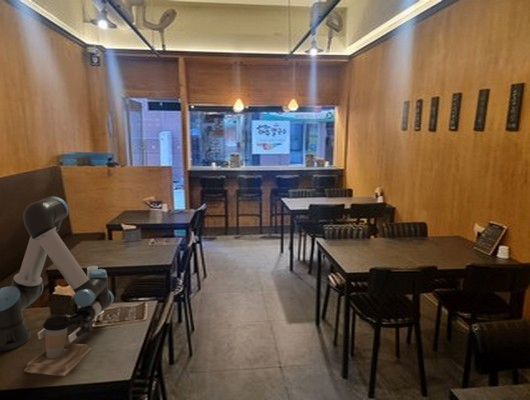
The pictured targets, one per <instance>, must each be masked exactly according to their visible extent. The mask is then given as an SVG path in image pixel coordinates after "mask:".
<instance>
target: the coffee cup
mask: <svg viewBox="0 0 530 400" xmlns="http://www.w3.org/2000/svg"><path fill="white" fill-rule="evenodd" d="M70 326H71V325H70V319H69V320H68V318H67V317H64V316H63V315H53V316H51V317H48V318H47V319H46V320H45V321H44V323H43V326H42V329H43V328H44V329H45V336H44V343H45V344H44V345H45V349H46V357H47V358H49V359H56V358H59V357H61V356H62V354H63V350H64V345H65V343H67V342H66V341H67V337H68V329H69V327H70Z"/></svg>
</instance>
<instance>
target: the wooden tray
mask: <svg viewBox="0 0 530 400" xmlns="http://www.w3.org/2000/svg"><path fill="white" fill-rule="evenodd" d="M92 350H93V349H92V347H89V344H83V343H73V342H65V345H64V350H63V354H62V356H61V357H59V358H56V359H49V358H47V357H46V348H45V349H44V350H43V351H42V352H40V353H38V355H36V356H35V357H34V358H33V359H31V360H30V361H29V362H28V363H26V366H27V367H25V369H23V371H24V373H31V374H39V375H50V376H57V377H65V376H66V375H68V374H69V372H71V371H72V370H73V369H74V368H75V367H76V366H77V365H78V364H79V363H80V362H81V361H83V359H84V358H85V357H86V356H88V354H90V352H92Z"/></svg>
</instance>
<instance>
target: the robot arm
mask: <svg viewBox="0 0 530 400" xmlns="http://www.w3.org/2000/svg"><path fill="white" fill-rule="evenodd" d="M68 215H69V206H68V204H67V201H65V200H64V199H63V198H60V197H58V196H48V197H45V198H43V199H40V200H38V201H33V202H32V203H30V204H29V205H27V206H26V207H25V209H24V210H23V215H22V217H23V223H24V226H25V229H26V231H27V232H28V235H29V240H28V243H27V248H26V250H25V252H24V256H23V260H22V262H21V266H20V270H19V271H18V273H16V274H14V276H13V279H12V282H11V285H10V286H4V287H1V288H0V352H5V351H10V350H13V349H16V348H19V347H21V346H23V345H25V344H26V343H28V341H29V340H30V339H31V331H30V329H29V328H28V326H27V324H26V322H25V321H24V315H23V311H24V310H25V309H26V308H27V307H29V306H30V305H31V304H33V303H34V302H36V301H37V300H38V299H39V298H40V297H41V295H42V294H43V292H44V283H43V278H42V277H41V274H42V271H43V269H44V267H45V266H44V265H45V264H46V263H45V262H46V260H47V256H48V257H49V259H50V260H51V262H52V263H53V265H54V266H55V268H57V270H58V271H59V272H60V274H61V275H62V277H63V279H64V280H65V282H66V283H67V284H68V286H69V287H70V288H71V289H72V291H73V292H74V296H73V300H74V301H73V302H74V303H75V305H77V306H78V308H77V309H76V311H75V313H74V314H71V315H70V313H65V314H63V315H62V316H64V317H67V318H68V320H69V322H70V325H69V326H71V325H77V326H78V325H80V326H79V327H78V328H76V329H75V330H74V331H73V332H71V334H69V335H67V337H68V343H73V341H74V340H76V339H77V338H78V337H80V336H82V335H83V334H85V333H88V334H90V333H91V331H92V328H93V325H94V323H95V322H96V317H97V316H99V315H98V314H99V313H101V312H102V311H103V310H104V311H105V310H106V309H107V308H108V307H110V306H111V305H112V303H113V302H114V301H115V296H114V294H113V292H112V291H111V290H109V280H108V273H107V269H103V268H99V269H96V270H93V271H91V272H90V273H89V278H90V280H89V279H88V277H87V273H85V271H84V270H83V268H82V267H81V265H80V264H79V263H78V261H77V260H76V258H75V257H74V256H73V254H72V253H71V251H70V249H69V248H68V247H67V245H66V244H65V242H64V241H63V240H62V238H61V237H60V235H59V233H58V231H59V230H60V228H61V225H62V222H63V220H65V219H66V218H67V216H68ZM85 324H86V325H85ZM37 337H38V340H41V339H43V338H45V329H44V328H43V327H42V329H41V330H40V331H38V332H37Z"/></svg>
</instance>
